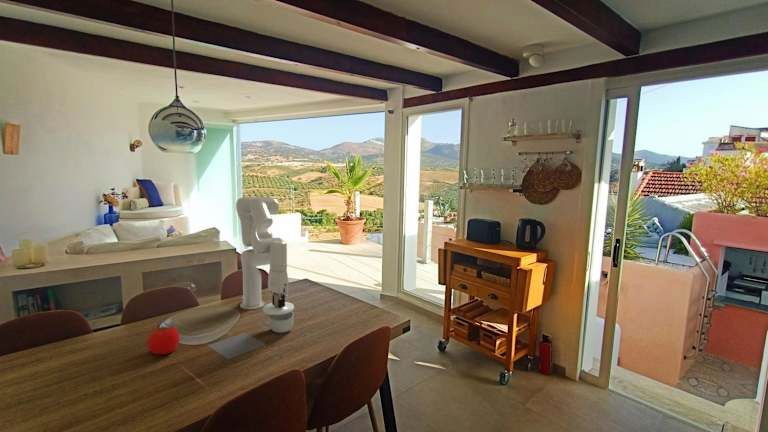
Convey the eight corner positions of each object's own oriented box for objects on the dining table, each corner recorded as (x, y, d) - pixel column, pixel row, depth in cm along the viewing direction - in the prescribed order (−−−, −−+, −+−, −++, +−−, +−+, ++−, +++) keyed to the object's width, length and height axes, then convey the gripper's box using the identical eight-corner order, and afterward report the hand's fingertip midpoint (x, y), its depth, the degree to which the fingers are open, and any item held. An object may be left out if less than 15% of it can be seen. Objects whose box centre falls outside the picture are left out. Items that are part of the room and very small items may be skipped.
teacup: (296, 326, 177) (296, 310, 176) (288, 336, 166) (288, 320, 165) (269, 324, 178) (269, 308, 177) (259, 334, 168) (259, 317, 167)
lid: (256, 309, 170) (256, 293, 169) (282, 301, 181) (282, 286, 180) (274, 317, 161) (274, 301, 160) (300, 308, 172) (300, 293, 171)
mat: (207, 346, 155) (207, 345, 155) (244, 333, 168) (244, 332, 168) (228, 360, 144) (227, 359, 144) (265, 345, 157) (265, 344, 157)
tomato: (187, 349, 152) (186, 325, 151) (160, 361, 142) (159, 336, 141) (168, 342, 157) (167, 319, 156) (140, 354, 147) (139, 329, 146)
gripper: (260, 265, 171) (261, 303, 173) (282, 272, 160) (282, 312, 163) (274, 262, 177) (274, 299, 179) (296, 269, 166) (296, 308, 168)
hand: (278, 305), depth 171 cm, fingers closed on lid, 4 cm apart
